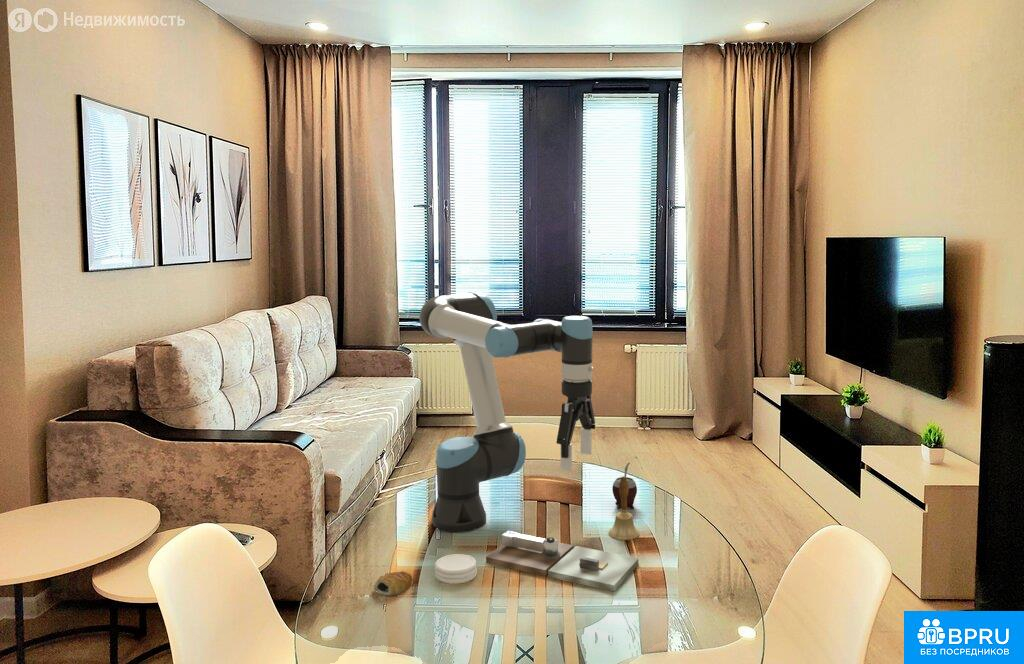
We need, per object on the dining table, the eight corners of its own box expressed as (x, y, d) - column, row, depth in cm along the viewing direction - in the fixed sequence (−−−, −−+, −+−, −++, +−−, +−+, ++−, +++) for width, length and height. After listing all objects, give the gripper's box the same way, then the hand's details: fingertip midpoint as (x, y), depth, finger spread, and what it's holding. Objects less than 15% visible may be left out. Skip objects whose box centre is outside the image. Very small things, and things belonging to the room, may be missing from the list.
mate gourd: (622, 500, 243) (622, 451, 241) (644, 506, 238) (644, 456, 236) (606, 506, 238) (606, 457, 236) (628, 513, 233) (629, 462, 230)
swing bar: (560, 551, 203) (560, 537, 202) (554, 556, 200) (553, 542, 199) (508, 540, 210) (508, 527, 209) (501, 545, 207) (501, 532, 206)
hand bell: (638, 541, 214) (639, 482, 211) (607, 539, 215) (607, 481, 213) (640, 528, 222) (640, 472, 219) (609, 527, 223) (609, 471, 221)
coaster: (439, 587, 190) (439, 573, 189) (431, 569, 199) (431, 556, 199) (481, 581, 193) (481, 567, 192) (471, 564, 202) (471, 550, 202)
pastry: (398, 577, 196) (398, 562, 195) (420, 584, 192) (419, 568, 192) (371, 592, 188) (370, 577, 188) (393, 600, 184) (392, 584, 184)
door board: (485, 562, 202) (485, 548, 202) (516, 539, 216) (516, 525, 216) (613, 591, 186) (613, 575, 185) (638, 564, 200) (638, 549, 199)
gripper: (572, 391, 189) (571, 479, 192) (608, 370, 211) (607, 449, 214) (542, 388, 192) (542, 474, 195) (580, 367, 214) (580, 445, 217)
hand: (576, 461), depth 205 cm, fingers open, 13 cm apart
